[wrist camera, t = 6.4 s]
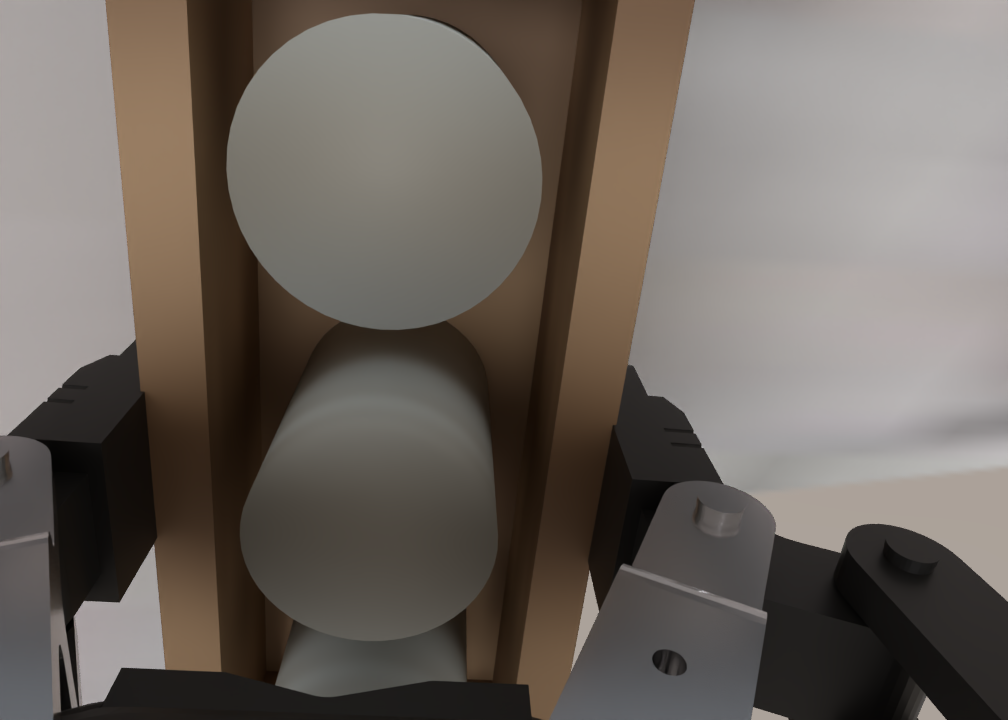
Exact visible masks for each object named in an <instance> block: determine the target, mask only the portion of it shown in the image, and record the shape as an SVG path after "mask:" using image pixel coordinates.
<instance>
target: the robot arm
mask: <svg viewBox="0 0 1008 720" xmlns="http://www.w3.org/2000/svg"><path fill="white" fill-rule="evenodd" d="M693 431H694V430H693V428H692V427H691V425H690V423H689V421H688V419H687V418H686V416H685V414H684V413H683V412H682V411H681V410H679V409H678V408H677V407H676V406H674V405H673V404H672V403H670V402H669V401H668V400H666V399H665V398H664V397H657V396H648V395H647V393H646V391H645V389H644V387H643V385H642V383H641V381H640V379H639V377H638V374H637V372H636V370H635V368H634V367H633V366H631V365H627V370H626V376H625V381H624V386H623V392H622V397H621V403H620V408H619V413H618V419H617V424H616V425H613V426H612V432H611V437H610V443H609V448H608V454H607V459H606V465H605V470H604V476H603V481H602V487H601V492H600V498H599V503H598V508H597V514H596V519H595V525H594V530H593V536H592V541H591V547H590V552H589V558H588V565H589V569H590V573H591V577H592V582H593V587H594V591H595V595H596V599H597V604H598V608H599V613H598V616H597V618H596V620H595V622H594V624H593V627H592V629H591V631H590V633H589V635H588V637H587V639H586V642H585V644H584V646H583V648H582V650H581V652H580V654H579V656H578V659H577V661H576V663H575V665H574V667H573V669H572V671H571V674H570V676H569V678H568V680H567V682H566V684H565V686H564V689H563V691H562V693H561V695H560V697H559V699H558V701H557V704H556V706H555V708H554V710H553V712H552V714H551V716H550V719H549V720H751V716H752V710H753V707H755V708H758V709H762V710H765V711H768V712H771V713H775V714H778V715H781V716H784V717H788V719H789V720H918V718H917V717H918V714H919V712H920V710H921V708H922V705H923V703H924V701H925V698H926V696H927V697H928V698H929V699H930V700H931V702H932V703H933V704H934V705H935V706H936V708H937V709H938V710H939V711H940V712H941V713H942V715H943V716H944V717H945V718H946V719H947V720H1008V602H1007V601H1006V600H1005V599H1004V598H1003V597H1002V596H1001V595H1000V594H999V593H997V592H996V591H995V590H994V589H993V588H992V587H991V586H989V584H987V583H986V582H985V581H984V580H983V579H982V578H981V577H980V576H979V575H978V574H976V573H975V572H974V571H973V570H972V569H971V568H970V567H969V566H968V565H966V564H965V563H964V562H963V561H962V560H961V559H960V558H958V557H957V556H956V555H955V554H954V553H953V552H951V551H950V550H948V549H947V548H945V547H944V546H943V545H941V544H939V543H937V542H936V541H934V540H932V539H929V538H928V537H925V536H923V535H921V534H918V533H916V532H913V531H910V530H907V529H904V528H900V527H896V526H891V525H884V524H867V525H861V526H857V527H855V528H854V529H852V530H851V531H850V532H849V533H848V535H847V537H846V539H845V542H844V545H843V548H842V551H841V553H838V552H834V551H831V550H827V549H822V548H819V547H815V546H811V545H807V544H803V543H799V542H796V541H793V540H789V539H786V538H783V537H781V536H778V535H776V534H775V531H776V523H775V520H774V517H773V516H772V514H771V512H770V511H769V510H768V509H767V508H766V507H765V506H764V505H763V504H762V503H761V502H760V501H758V500H757V499H755V498H754V497H752V496H750V495H749V494H747V493H745V492H743V491H741V490H738V489H736V488H733V487H730V486H727V485H724V484H723V483H722V481H721V479H720V477H719V475H718V473H717V472H716V470H715V468H714V466H713V464H712V463H711V461H710V459H709V457H708V455H707V454H706V452H705V450H704V448H701V443H700V441H699V439H698V437H697V436H696V434H693ZM156 539H157V528H156V517H155V505H154V494H153V482H152V471H151V459H150V448H149V437H148V425H147V414H146V402H145V392H142V391H141V390H140V379H139V368H138V357H137V346H136V340H135V341H134V342H133V343H132V344H131V345H130V346H129V347H128V348H127V349H126V350H125V351H124V352H123V353H122V354H121V355H120V356H118V355H109V356H106V357H104V358H102V359H100V360H97V361H95V362H93V363H91V364H88V365H86V366H84V367H82V368H80V369H79V370H78V371H77V372H75V373H74V374H73V375H72V376H71V377H70V378H69V379H68V380H67V381H66V382H65V383H64V384H62V388H58V389H57V390H56V391H55V392H54V393H53V394H52V395H51V396H50V397H48V401H47V402H43V403H42V404H41V405H40V406H39V407H38V408H37V409H35V410H34V411H33V412H32V413H31V414H30V415H29V416H28V417H27V418H26V419H25V420H24V421H22V422H21V423H20V424H19V425H18V426H17V427H16V428H15V429H14V430H13V431H12V432H11V433H9V434H8V435H7V436H0V720H542V719H539V718H535V717H532V715H531V705H530V695H529V685H526V684H502V683H478V682H454V681H427V682H421V683H414V684H408V685H402V686H396V687H390V688H384V689H378V690H372V691H366V692H360V693H354V694H348V695H342V696H336V697H320V696H314V695H311V694H307V693H303V692H299V691H295V690H291V689H288V688H284V687H280V686H276V685H272V684H269V683H265V682H261V681H257V680H253V679H250V678H246V677H242V676H238V675H234V674H230V673H227V672H211V671H187V670H163V669H138V668H121V670H120V672H119V674H118V676H117V678H116V680H115V682H114V684H113V685H112V687H111V689H110V691H109V693H108V695H107V697H106V699H105V701H103V702H97V703H91V704H87V705H83V706H82V695H81V680H80V665H79V651H78V636H77V629H76V622H75V614H76V612H77V611H78V609H79V608H80V606H81V604H82V603H83V601H100V602H120V601H121V599H122V597H123V596H124V594H125V592H126V590H127V589H128V587H129V585H130V584H131V582H132V580H133V578H134V577H135V575H136V573H137V572H138V570H139V568H140V566H141V565H142V563H143V561H144V560H145V558H146V556H147V555H148V553H149V551H150V549H151V548H152V546H153V544H154V543H155V541H156Z"/></svg>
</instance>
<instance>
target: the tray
mask: <svg viewBox="0 0 1008 720" xmlns="http://www.w3.org/2000/svg"><path fill="white" fill-rule="evenodd" d="M105 1H106V12H107V23H108V34H109V45H110V56H111V67H112V78H113V90H114V101H115V112H116V123H117V134H118V145H119V156H120V168H121V179H122V190H123V201H124V212H125V223H126V234H127V246H128V257H129V268H130V279H131V290H132V301H133V312H134V323H135V335H136V346H137V357H138V368H139V379H140V390H141V391H142V392H145V402H146V414H147V425H148V437H149V448H150V459H151V471H152V482H153V494H154V505H155V517H156V528H157V539H156V541H155V543H154V546H155V557H156V568H157V580H158V591H159V602H160V613H161V624H162V635H163V646H164V657H165V669H166V670H187V671H211V672H227V673H230V674H234V675H238V676H242V677H246V678H250V679H253V680H257V681H261V682H265V683H269V684H272V685H276V686H280V687H284V688H288V689H291V690H295V691H299V692H303V693H307V694H311V695H314V696H320V697H336V696H342V695H348V694H354V693H360V692H366V691H372V690H378V689H384V688H390V687H396V686H402V685H408V684H414V683H421V682H427V681H454V682H478V683H502V684H526V685H529V695H530V705H531V715H532V717H535V718H539V719H542V720H549V719H550V716H551V714H552V712H553V710H554V708H555V706H556V704H557V701H558V699H559V697H560V695H561V693H562V691H563V689H564V686H565V684H566V682H567V680H568V678H569V676H570V673H571V668H572V662H573V656H574V651H575V646H576V640H577V635H578V630H579V624H580V619H581V614H582V608H583V603H584V596H585V592H586V587H587V581H588V576H589V570H590V569H589V565H588V558H589V552H590V547H591V541H592V536H593V530H594V525H595V519H596V514H597V508H598V503H599V498H600V492H601V487H602V481H603V476H604V470H605V465H606V459H607V454H608V448H609V443H610V437H611V432H612V426H613V425H616V424H617V419H618V413H619V408H620V403H621V397H622V392H623V386H624V381H625V376H626V370H627V365H628V359H629V354H630V348H631V343H632V338H633V332H634V327H635V321H636V316H637V311H638V305H639V300H640V294H641V289H642V284H643V278H644V273H645V267H646V262H647V256H648V251H649V246H650V240H651V235H652V229H653V224H654V219H655V213H656V208H657V202H658V197H659V192H660V186H661V181H662V175H663V170H664V165H665V159H666V154H667V148H668V143H669V137H670V132H671V127H672V121H673V116H674V110H675V105H676V100H677V94H678V89H679V83H680V78H681V73H682V67H683V62H684V56H685V51H686V45H687V40H688V35H689V29H690V24H691V18H692V13H693V8H694V2H695V0H105Z"/></svg>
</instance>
